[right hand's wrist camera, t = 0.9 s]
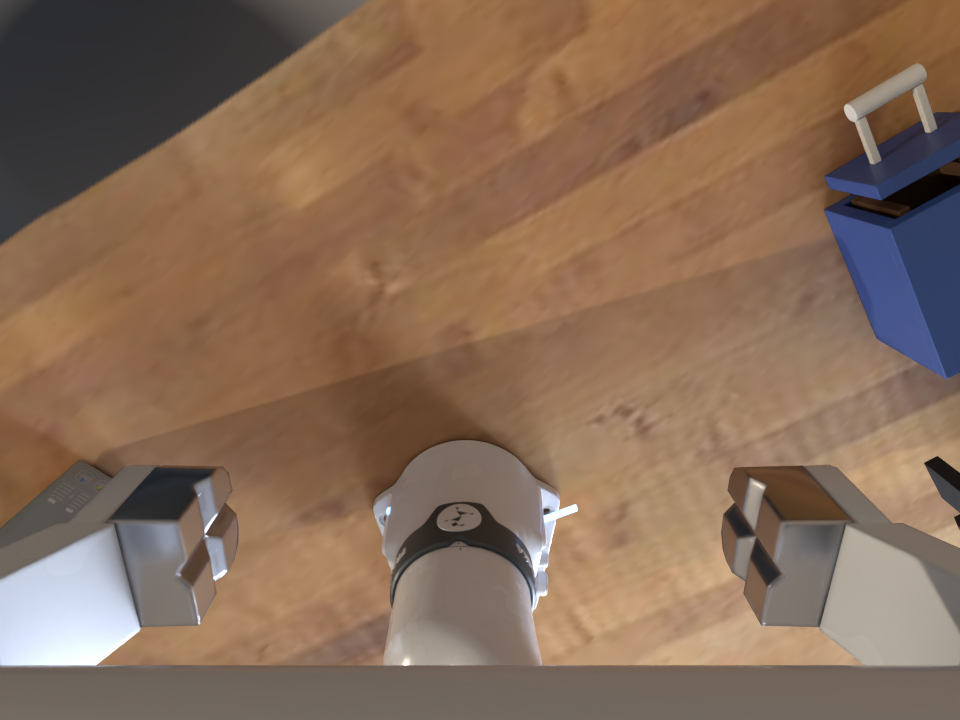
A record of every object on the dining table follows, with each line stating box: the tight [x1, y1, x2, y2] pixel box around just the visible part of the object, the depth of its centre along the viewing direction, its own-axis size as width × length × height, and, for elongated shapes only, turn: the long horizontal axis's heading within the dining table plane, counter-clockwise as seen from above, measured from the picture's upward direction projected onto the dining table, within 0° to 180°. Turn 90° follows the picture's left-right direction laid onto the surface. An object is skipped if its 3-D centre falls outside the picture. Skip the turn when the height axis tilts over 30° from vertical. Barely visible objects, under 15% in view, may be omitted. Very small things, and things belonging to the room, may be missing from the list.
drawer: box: [825, 63, 960, 219], centre depth 49 cm, size 17×9×7 cm, turn 32°
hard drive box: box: [0, 460, 112, 548], centre depth 56 cm, size 16×8×20 cm, turn 141°
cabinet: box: [824, 184, 960, 379], centre depth 51 cm, size 14×10×9 cm
